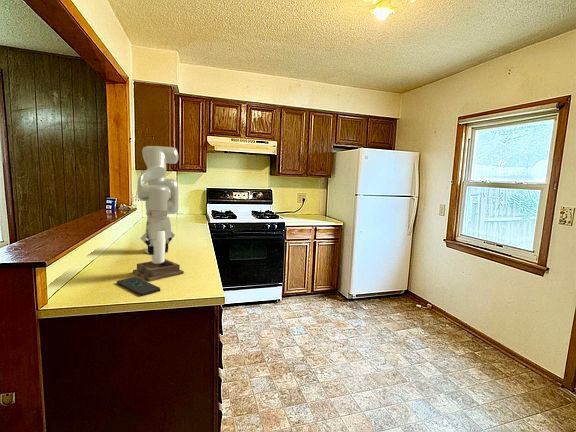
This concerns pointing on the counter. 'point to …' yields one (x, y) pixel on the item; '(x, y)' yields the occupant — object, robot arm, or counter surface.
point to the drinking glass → (159, 248)
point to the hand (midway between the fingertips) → (158, 252)
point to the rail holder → (157, 270)
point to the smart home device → (138, 286)
